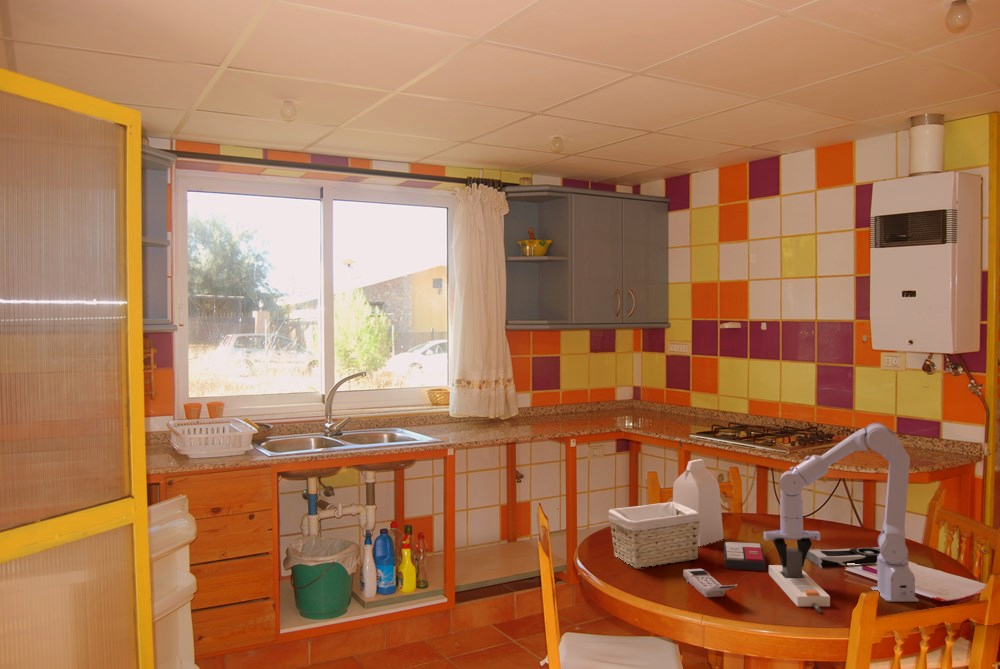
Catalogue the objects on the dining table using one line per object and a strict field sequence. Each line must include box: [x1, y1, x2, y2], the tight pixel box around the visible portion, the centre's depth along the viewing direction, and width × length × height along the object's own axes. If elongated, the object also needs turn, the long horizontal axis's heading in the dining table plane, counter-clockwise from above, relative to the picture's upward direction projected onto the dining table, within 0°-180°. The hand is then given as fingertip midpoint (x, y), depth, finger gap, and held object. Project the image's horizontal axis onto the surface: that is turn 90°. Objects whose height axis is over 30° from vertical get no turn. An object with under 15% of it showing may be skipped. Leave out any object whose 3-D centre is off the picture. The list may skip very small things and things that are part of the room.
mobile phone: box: [682, 568, 738, 598], centre depth 202 cm, size 6×6×25 cm
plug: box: [782, 547, 803, 578], centre depth 205 cm, size 5×4×7 cm
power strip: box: [768, 564, 831, 614], centre depth 199 cm, size 28×8×3 cm, turn 177°
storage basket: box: [608, 501, 700, 569], centre depth 230 cm, size 24×16×15 cm
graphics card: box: [805, 546, 881, 569], centre depth 223 cm, size 10×3×25 cm
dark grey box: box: [723, 541, 766, 572], centre depth 225 cm, size 11×4×15 cm
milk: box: [672, 458, 724, 548], centre depth 248 cm, size 12×12×26 cm
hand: (792, 566), depth 205 cm, fingers closed on plug, 4 cm apart
